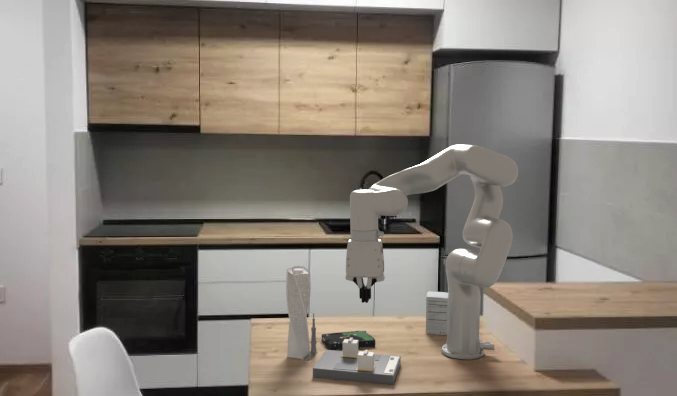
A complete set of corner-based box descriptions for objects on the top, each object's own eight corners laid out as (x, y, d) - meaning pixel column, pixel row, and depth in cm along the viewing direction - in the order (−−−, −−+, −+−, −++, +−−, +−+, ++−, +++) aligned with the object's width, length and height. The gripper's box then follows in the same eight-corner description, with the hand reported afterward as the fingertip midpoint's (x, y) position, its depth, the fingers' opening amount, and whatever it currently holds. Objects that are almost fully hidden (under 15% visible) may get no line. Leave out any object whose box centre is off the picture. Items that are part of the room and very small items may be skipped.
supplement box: (426, 327, 221) (427, 290, 220) (448, 328, 220) (449, 292, 219) (425, 334, 214) (425, 296, 213) (447, 335, 213) (448, 297, 211)
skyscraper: (307, 363, 188) (307, 268, 185) (281, 359, 191) (281, 265, 188) (317, 353, 196) (317, 262, 193) (292, 350, 199) (292, 260, 196)
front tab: (374, 366, 178) (374, 350, 177) (372, 370, 175) (372, 354, 174) (359, 365, 179) (359, 349, 178) (357, 369, 176) (357, 352, 175)
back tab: (358, 353, 188) (358, 338, 187) (356, 357, 185) (356, 341, 184) (344, 352, 189) (344, 337, 188) (342, 355, 186) (342, 340, 185)
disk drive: (330, 353, 198) (376, 348, 202) (330, 344, 197) (376, 339, 202) (321, 342, 207) (365, 337, 212) (320, 333, 207) (365, 329, 211)
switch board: (400, 364, 187) (400, 355, 187) (393, 384, 172) (393, 374, 172) (325, 357, 192) (325, 349, 191) (312, 377, 177) (312, 367, 177)
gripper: (393, 233, 179) (394, 298, 181) (340, 232, 182) (341, 296, 184) (390, 238, 171) (390, 306, 174) (334, 237, 174) (335, 304, 177)
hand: (365, 301), depth 179 cm, fingers closed
